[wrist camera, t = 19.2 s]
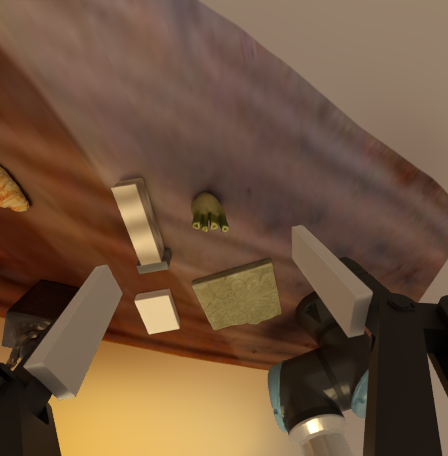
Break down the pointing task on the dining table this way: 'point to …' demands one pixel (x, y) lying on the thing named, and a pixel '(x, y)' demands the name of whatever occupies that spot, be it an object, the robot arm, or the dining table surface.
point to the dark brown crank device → (34, 316)
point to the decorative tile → (239, 295)
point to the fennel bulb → (208, 213)
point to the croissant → (11, 193)
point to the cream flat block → (158, 311)
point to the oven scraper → (141, 225)
